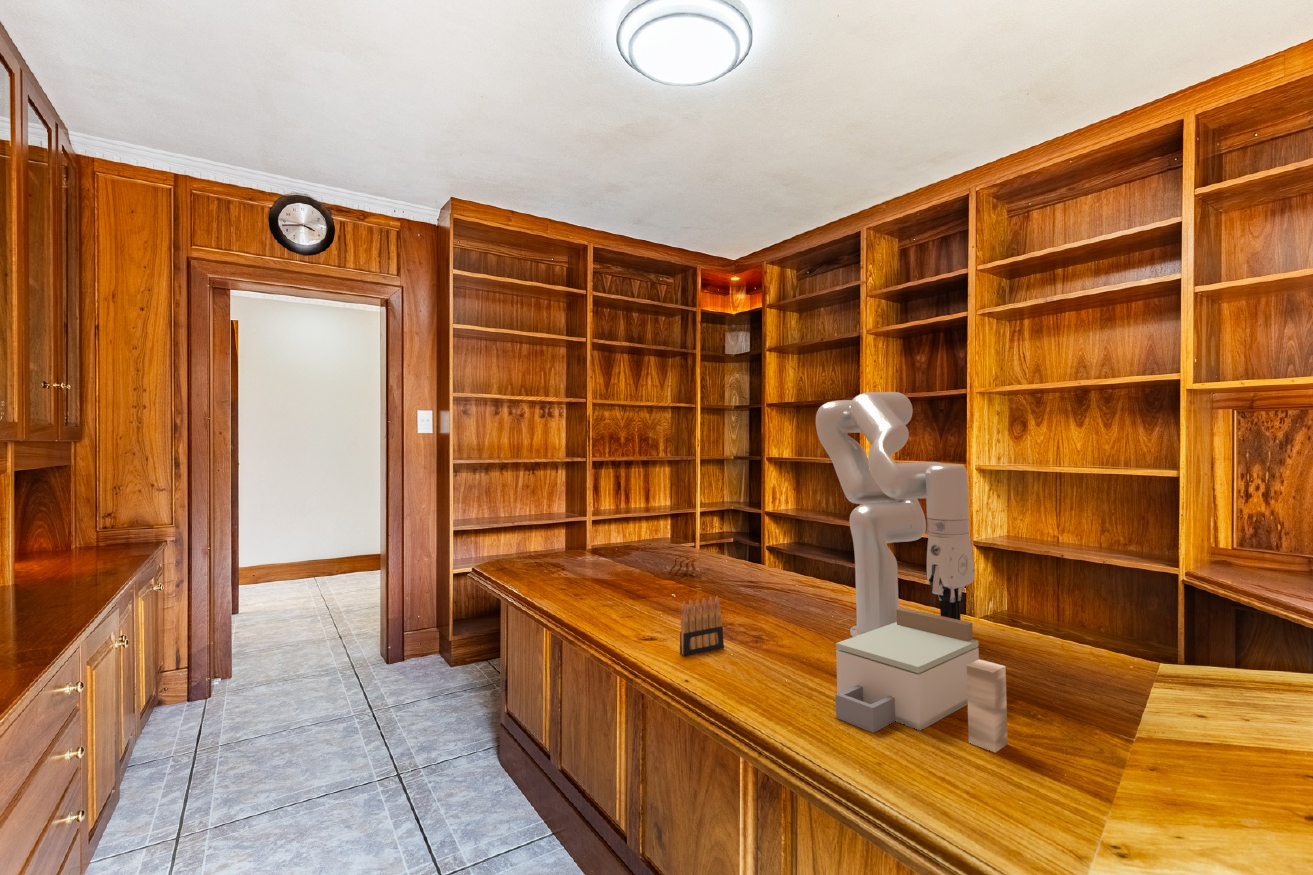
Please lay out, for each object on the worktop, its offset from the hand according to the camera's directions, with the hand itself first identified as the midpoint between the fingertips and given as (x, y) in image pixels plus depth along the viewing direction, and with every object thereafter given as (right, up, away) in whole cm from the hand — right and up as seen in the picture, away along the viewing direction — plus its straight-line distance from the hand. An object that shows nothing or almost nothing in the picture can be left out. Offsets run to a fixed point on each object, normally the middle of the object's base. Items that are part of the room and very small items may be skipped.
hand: (950, 620), depth 123 cm
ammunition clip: (-47, -13, +19) cm, 53 cm away
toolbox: (-14, -11, -11) cm, 22 cm away
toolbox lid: (-12, -2, -9) cm, 16 cm away
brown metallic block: (-7, -11, -26) cm, 29 cm away
